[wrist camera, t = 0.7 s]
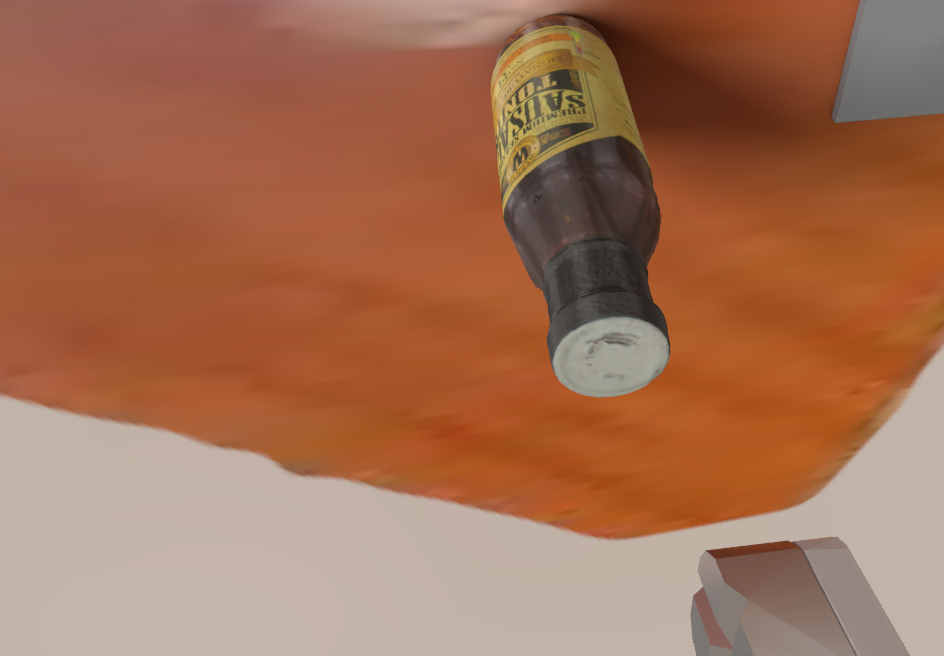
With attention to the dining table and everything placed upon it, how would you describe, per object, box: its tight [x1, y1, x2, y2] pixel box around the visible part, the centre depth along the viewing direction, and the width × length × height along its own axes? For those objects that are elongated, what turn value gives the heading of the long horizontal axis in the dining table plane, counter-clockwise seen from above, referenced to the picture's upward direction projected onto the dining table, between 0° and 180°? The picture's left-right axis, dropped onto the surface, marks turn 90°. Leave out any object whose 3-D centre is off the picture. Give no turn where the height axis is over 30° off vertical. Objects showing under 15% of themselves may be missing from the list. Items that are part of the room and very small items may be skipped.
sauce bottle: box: [491, 15, 670, 397], centre depth 36 cm, size 6×6×20 cm
